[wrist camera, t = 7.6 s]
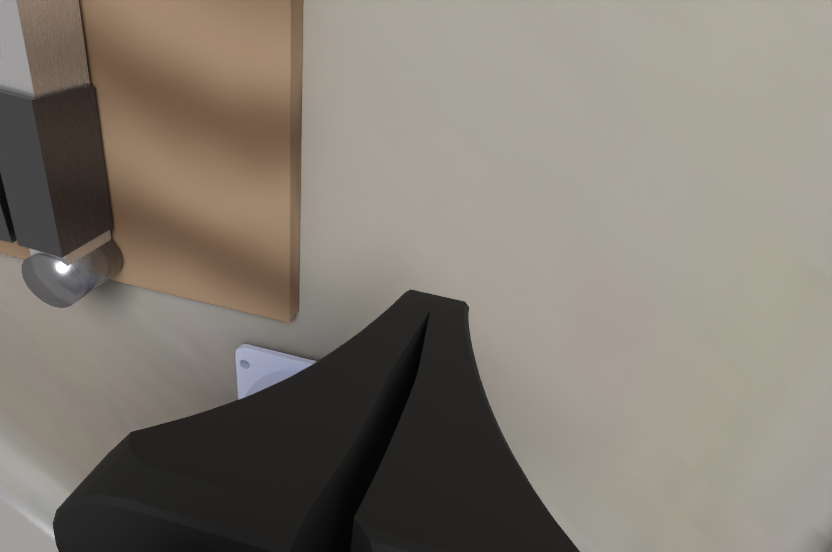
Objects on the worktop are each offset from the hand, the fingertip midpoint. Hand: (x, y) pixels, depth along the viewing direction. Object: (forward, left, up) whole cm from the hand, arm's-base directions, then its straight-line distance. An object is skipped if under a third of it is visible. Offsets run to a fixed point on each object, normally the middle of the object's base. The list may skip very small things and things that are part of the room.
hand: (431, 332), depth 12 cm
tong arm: (+2, +16, -8) cm, 18 cm away
